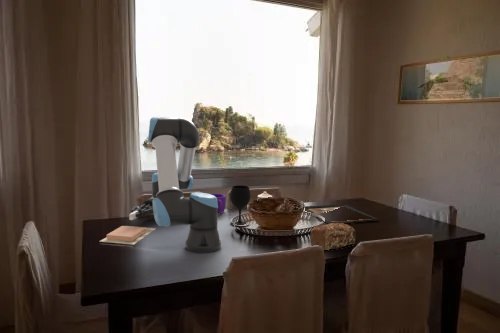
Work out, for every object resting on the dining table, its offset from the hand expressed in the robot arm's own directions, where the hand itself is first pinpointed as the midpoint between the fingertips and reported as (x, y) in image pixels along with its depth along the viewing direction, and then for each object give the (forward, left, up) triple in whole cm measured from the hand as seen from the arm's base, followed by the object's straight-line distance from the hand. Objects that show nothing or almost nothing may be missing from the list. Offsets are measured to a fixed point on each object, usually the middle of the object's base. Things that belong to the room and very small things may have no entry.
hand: (130, 217), depth 176 cm
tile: (+1, -3, -7) cm, 7 cm away
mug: (0, -58, -9) cm, 58 cm away
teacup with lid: (-15, -83, -9) cm, 84 cm away
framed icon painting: (-53, -105, -10) cm, 118 cm away
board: (-1, +1, -9) cm, 9 cm away
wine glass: (-24, -50, -9) cm, 56 cm away
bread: (-75, -53, -9) cm, 93 cm away
